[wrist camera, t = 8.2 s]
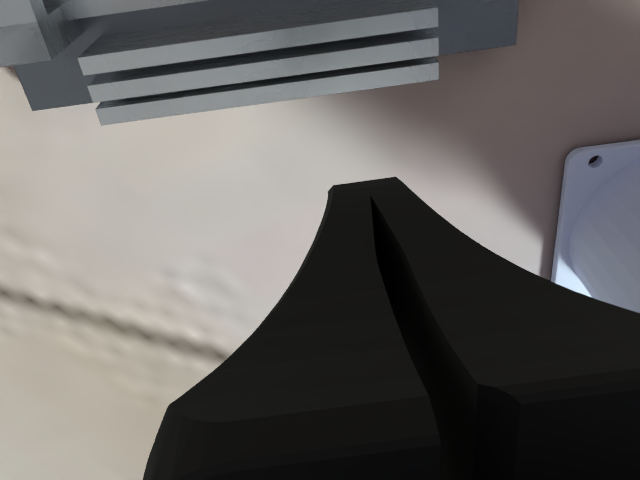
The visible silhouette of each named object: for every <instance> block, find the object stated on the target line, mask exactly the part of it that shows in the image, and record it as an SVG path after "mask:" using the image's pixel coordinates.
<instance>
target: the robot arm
mask: <svg viewBox="0 0 640 480" xmlns="http://www.w3.org/2000/svg"><path fill="white" fill-rule="evenodd" d="M596 155H598V158H597V160H596V161H595V162H593V163H590V164H589V163H588V162H589V160H590V159H591V158H592V157H593V156H596ZM143 480H640V140H634V141H626V142H619V143H611V144H604V145H596V146H588V147H581V148H577V149H574V150H573V151H571V152H570V153H569V154H568V156H567V157H566V160H565V168H564V176H563V184H562V193H561V201H560V209H559V218H558V226H557V234H556V243H555V251H554V259H553V268H552V276H551V281H549V280H547V279H544V278H542V277H540V276H538V275H535V274H533V273H531V272H529V271H527V270H525V269H523V268H521V267H519V266H517V265H515V264H513V263H512V262H510V261H508V260H506V259H504V258H502V257H501V256H499V255H497V254H495V253H493V252H492V251H490V250H488V249H487V248H485V247H483V246H482V245H480V244H479V243H477V242H476V241H474V240H473V239H471V238H470V237H468V236H467V235H465V234H464V233H462V232H461V231H459V230H458V229H457V228H455V227H454V226H453V225H452V224H450V223H449V222H448V221H446V220H445V219H444V218H443V217H441V216H440V215H439V214H438V213H436V212H435V211H434V210H433V209H432V208H430V207H429V206H428V205H427V204H426V203H425V202H424V201H422V200H421V199H420V198H419V197H418V196H417V195H416V194H415V193H414V192H412V191H411V190H410V189H409V188H408V187H407V186H406V185H405V184H404V183H403V182H402V181H400V180H399V179H398V178H397V177H391V178H384V179H377V180H369V181H362V182H355V183H348V184H340V185H333V186H332V188H331V189H330V190H329V191H328V200H327V205H326V209H325V212H324V215H323V218H322V221H321V224H320V226H319V229H318V231H317V234H316V236H315V239H314V241H313V244H312V246H311V248H310V250H309V252H308V254H307V256H306V257H305V259H304V261H303V263H302V265H301V267H300V269H299V271H298V273H297V274H296V276H295V278H294V279H293V281H292V282H291V284H290V286H289V287H288V289H287V290H286V292H285V293H284V294H283V296H282V297H281V299H280V300H279V302H278V303H277V304H276V306H275V307H274V308H273V309H272V311H271V312H270V313H269V314H268V316H267V317H266V318H265V320H264V321H263V322H262V323H261V324H260V326H259V327H258V328H257V329H256V330H255V331H254V332H253V334H252V335H251V336H250V337H249V338H248V339H247V340H246V341H245V342H244V343H243V344H242V345H241V346H240V347H239V348H238V349H237V350H236V351H235V352H234V353H233V354H232V355H231V356H230V357H229V358H228V359H227V360H225V361H224V362H223V363H222V364H221V365H220V366H219V367H217V368H216V369H215V370H214V371H213V372H211V373H210V374H209V375H208V376H206V377H205V378H204V379H203V380H201V381H200V382H199V383H197V384H196V385H195V386H194V387H192V388H191V389H190V390H188V391H187V392H186V393H185V394H183V395H182V396H181V397H179V398H178V399H177V400H175V401H174V402H172V403H171V404H170V405H169V406H168V408H167V410H166V412H165V415H164V417H163V420H162V423H161V425H160V428H159V430H158V433H157V436H156V439H155V442H154V444H153V447H152V450H151V452H150V455H149V458H148V462H147V465H146V469H145V473H144V477H143Z"/></svg>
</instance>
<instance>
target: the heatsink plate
mask: <svg viewBox="0 0 640 480" xmlns="http://www.w3.org/2000/svg"><path fill="white" fill-rule="evenodd" d="M517 17H518V0H0V67H7V66H14V68H15V70H16V73H17V75H18V77H19V80H20V82H21V85H22V87H23V89H24V92H25V94H26V97H27V99H28V101H29V104H30V106H31V109H32V111H36V110H43V109H50V108H58V107H65V106H72V105H79V104H87V103H95V102H101V103H100V104H99V105H98V107H97V108H96V109H95V110H96V112H97V115H98V118H99V121H100V124H101V125H108V124H115V123H123V122H130V121H138V120H145V119H152V118H160V117H167V116H174V115H182V114H189V113H197V112H204V111H211V110H219V109H226V108H234V107H241V106H248V105H256V104H263V103H270V102H278V101H285V100H293V99H300V98H307V97H315V96H322V95H330V94H337V93H344V92H352V91H359V90H367V89H374V88H381V87H389V86H396V85H403V84H411V83H418V82H426V81H433V80H439V62H438V61H437V59H436V58H435V57H434V56H439V55H445V54H453V53H460V52H467V51H475V50H482V49H489V48H497V47H504V46H511V45H516V33H517Z"/></svg>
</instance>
